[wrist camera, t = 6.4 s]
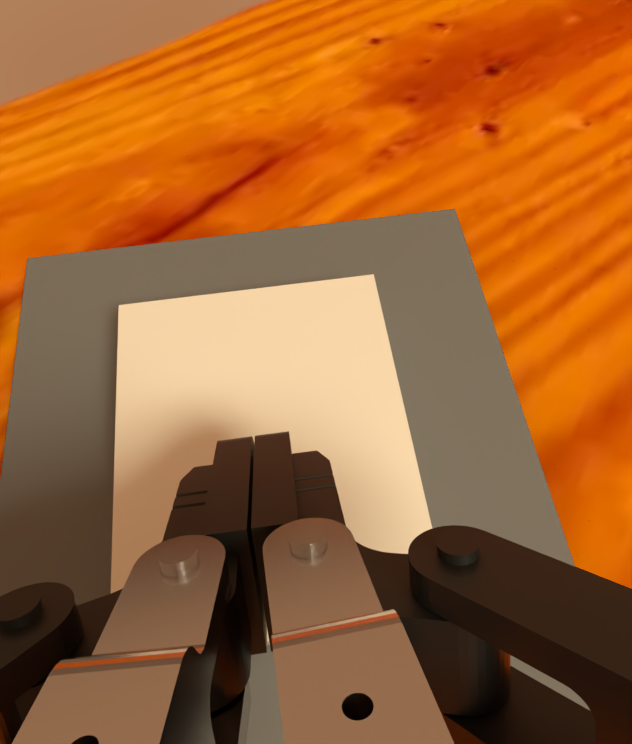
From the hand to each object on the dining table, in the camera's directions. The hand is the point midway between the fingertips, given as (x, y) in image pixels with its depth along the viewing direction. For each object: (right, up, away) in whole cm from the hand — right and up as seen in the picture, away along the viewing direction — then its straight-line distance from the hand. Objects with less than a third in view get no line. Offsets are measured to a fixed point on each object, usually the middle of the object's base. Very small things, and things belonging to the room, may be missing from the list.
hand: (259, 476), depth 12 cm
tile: (0, -4, +2) cm, 5 cm away
